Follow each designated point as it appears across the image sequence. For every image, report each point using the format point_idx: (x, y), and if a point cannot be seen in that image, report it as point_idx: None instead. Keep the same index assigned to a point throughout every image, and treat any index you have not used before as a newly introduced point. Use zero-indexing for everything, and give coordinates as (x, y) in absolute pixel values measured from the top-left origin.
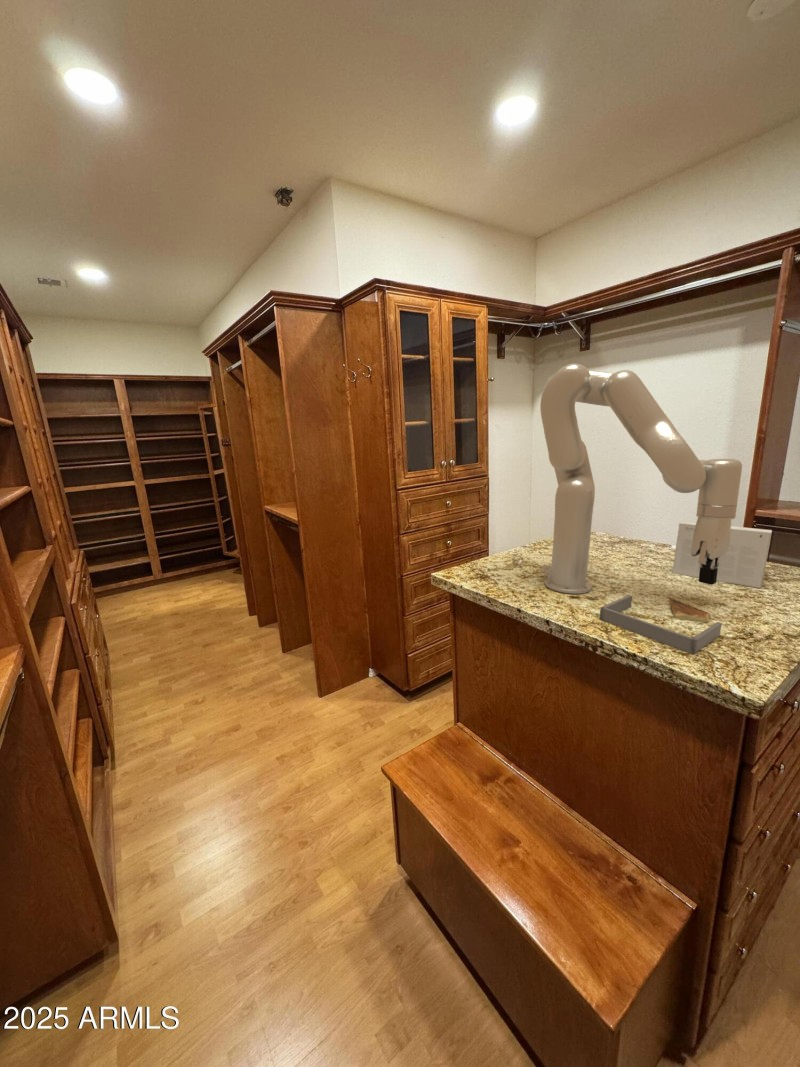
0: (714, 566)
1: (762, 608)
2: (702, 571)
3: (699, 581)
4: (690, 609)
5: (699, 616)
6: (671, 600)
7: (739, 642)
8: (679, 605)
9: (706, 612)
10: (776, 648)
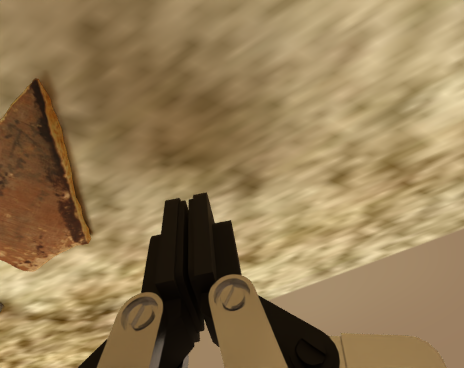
0: (184, 365)
1: (319, 241)
2: (144, 280)
3: (166, 203)
4: (24, 213)
5: (4, 259)
6: (23, 105)
7: (30, 328)
8: (9, 168)
9: (81, 236)
10: (93, 349)
